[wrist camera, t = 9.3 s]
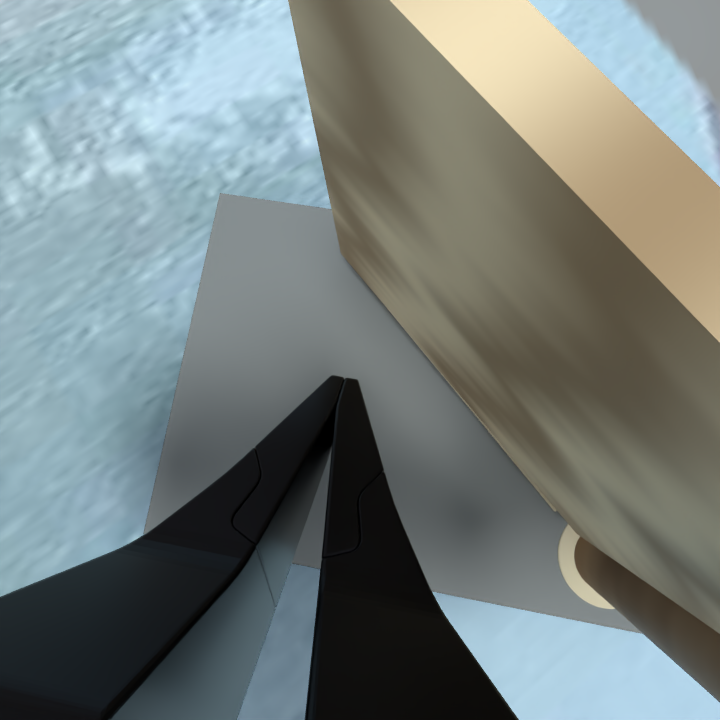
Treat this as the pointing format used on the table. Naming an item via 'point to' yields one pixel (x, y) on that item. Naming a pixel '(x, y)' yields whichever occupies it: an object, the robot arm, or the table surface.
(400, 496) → the board
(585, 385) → the folding fence panel
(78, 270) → the table surface
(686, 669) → the fixed fence panel
